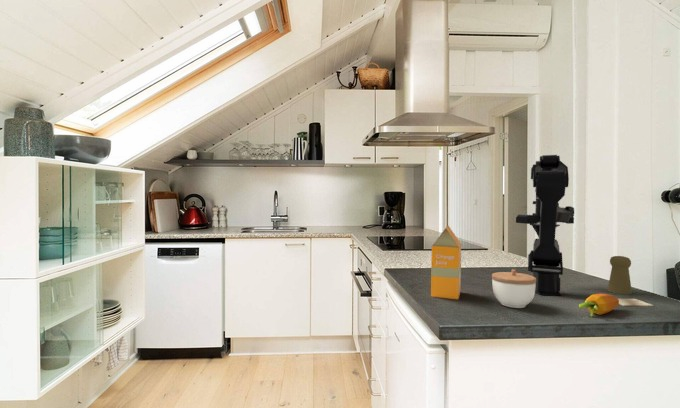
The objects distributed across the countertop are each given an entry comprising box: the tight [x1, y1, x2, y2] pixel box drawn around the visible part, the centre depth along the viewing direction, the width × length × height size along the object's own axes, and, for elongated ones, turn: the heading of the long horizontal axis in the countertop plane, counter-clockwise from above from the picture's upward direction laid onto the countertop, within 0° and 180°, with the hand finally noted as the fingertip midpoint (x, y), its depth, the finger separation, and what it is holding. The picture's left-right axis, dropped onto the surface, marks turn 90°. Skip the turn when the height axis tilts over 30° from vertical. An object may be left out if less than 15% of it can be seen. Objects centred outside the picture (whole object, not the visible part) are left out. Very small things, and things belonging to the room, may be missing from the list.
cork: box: [607, 255, 633, 295], centre depth 113 cm, size 6×6×11 cm
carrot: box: [578, 293, 620, 318], centre depth 92 cm, size 5×5×15 cm
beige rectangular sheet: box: [617, 298, 654, 307], centre depth 101 cm, size 8×6×1 cm
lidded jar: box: [491, 269, 536, 309], centre depth 98 cm, size 11×11×9 cm
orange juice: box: [430, 225, 462, 300], centre depth 108 cm, size 8×9×20 cm
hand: (544, 244), depth 123 cm, fingers closed
